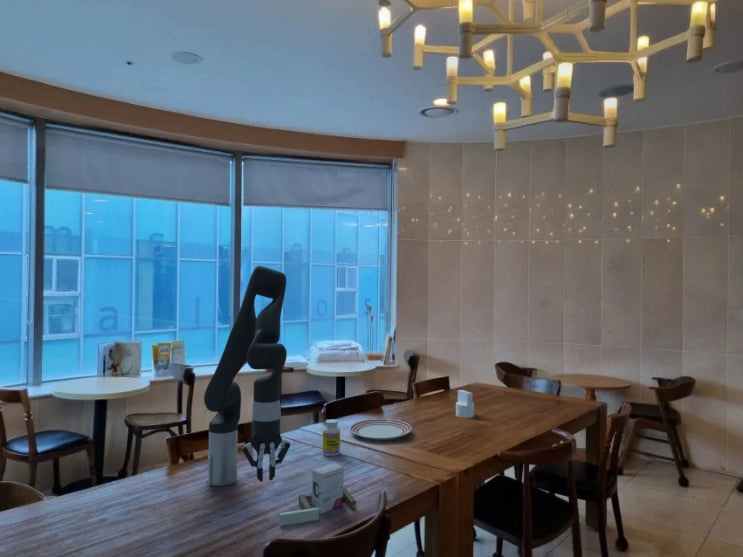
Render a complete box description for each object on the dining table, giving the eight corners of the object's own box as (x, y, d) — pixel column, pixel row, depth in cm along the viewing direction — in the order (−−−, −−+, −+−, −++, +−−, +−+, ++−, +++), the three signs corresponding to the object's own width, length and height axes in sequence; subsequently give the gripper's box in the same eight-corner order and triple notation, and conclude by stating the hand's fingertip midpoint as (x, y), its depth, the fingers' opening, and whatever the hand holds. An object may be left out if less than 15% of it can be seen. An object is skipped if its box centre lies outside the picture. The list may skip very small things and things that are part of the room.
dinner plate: (387, 448, 209) (387, 440, 209) (336, 435, 225) (336, 428, 225) (423, 432, 230) (423, 425, 230) (374, 422, 247) (374, 415, 247)
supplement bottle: (324, 457, 197) (324, 423, 197) (321, 451, 203) (321, 419, 203) (341, 456, 199) (341, 422, 199) (337, 450, 205) (338, 418, 205)
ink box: (333, 500, 159) (334, 462, 159) (344, 505, 155) (344, 466, 155) (310, 508, 153) (310, 468, 153) (320, 514, 149) (321, 473, 149)
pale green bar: (280, 526, 142) (280, 515, 142) (279, 524, 143) (279, 513, 143) (319, 519, 146) (319, 509, 146) (317, 517, 147) (318, 507, 147)
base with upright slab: (452, 414, 263) (452, 390, 263) (466, 412, 266) (467, 389, 266) (462, 418, 254) (462, 394, 254) (477, 416, 258) (477, 392, 258)
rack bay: (306, 516, 147) (306, 488, 147) (296, 500, 159) (297, 474, 159) (355, 509, 153) (356, 482, 153) (343, 493, 164) (343, 468, 164)
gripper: (288, 411, 147) (288, 471, 147) (238, 415, 142) (238, 478, 142) (294, 417, 140) (293, 481, 140) (242, 422, 135) (241, 488, 135)
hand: (265, 479), depth 141 cm, fingers closed
